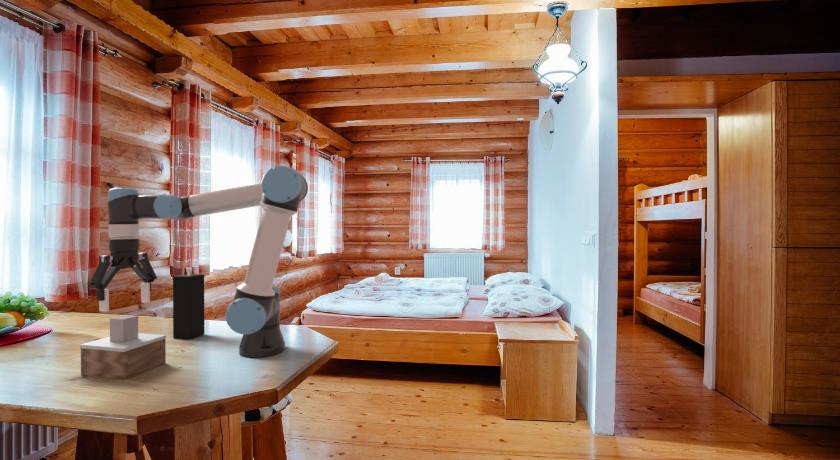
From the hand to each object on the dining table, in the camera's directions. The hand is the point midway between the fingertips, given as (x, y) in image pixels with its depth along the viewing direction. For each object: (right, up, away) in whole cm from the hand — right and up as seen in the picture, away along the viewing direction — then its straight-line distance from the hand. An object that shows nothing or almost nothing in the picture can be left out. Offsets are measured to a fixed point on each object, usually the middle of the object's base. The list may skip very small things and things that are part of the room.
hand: (126, 306), depth 123 cm
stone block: (-1, -10, 0) cm, 10 cm away
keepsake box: (0, -19, 0) cm, 19 cm away
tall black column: (-2, -19, +36) cm, 41 cm away
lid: (0, -11, 0) cm, 11 cm away
